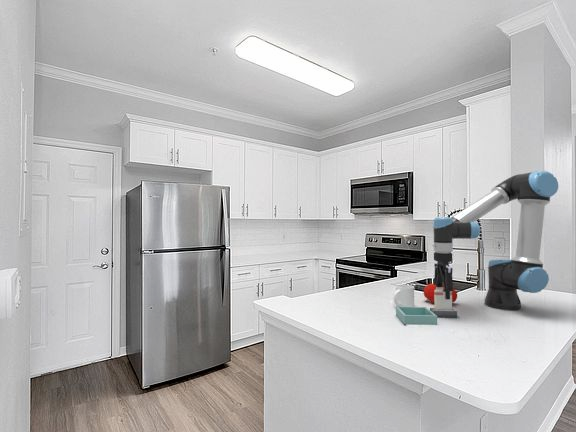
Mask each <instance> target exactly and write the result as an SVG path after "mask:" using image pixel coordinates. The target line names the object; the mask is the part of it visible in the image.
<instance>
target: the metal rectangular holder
mask: <svg viewBox="0 0 576 432" xmlns="http://www.w3.org/2000/svg"><path fill="white" fill-rule="evenodd" d="M429 310H430V311H431V312H433V313H434V314H435V315H436V316H437V319H461V316H459V315H458V311H457V309H454V308H452V310H435V309H434V307H430V308H429Z"/></svg>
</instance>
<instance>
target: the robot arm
mask: <svg viewBox="0 0 576 432" xmlns="http://www.w3.org/2000/svg"><path fill="white" fill-rule="evenodd" d="M558 189H559V181H558V179H557V177H555V176H554V174H553V173H551V172H549V171H547V170H540V171H539V170H538V171H537V170H535V171H531V172H526V173H519V174H514V175H513V176H510V177H508V178H507V179H504V180H503V181H501V182H500V183H498V184H497V185H495V186H494V187H492V188H491V191H490V192H489V193H487V194H485V195H484V196H482V197H481V198H479V199H478V200H476V201H475V202H473V203H471V204H470V205H468V206H467V207H465V208H464V209H463V210H462V209H461V211H459V212H458V213H456V214H454V215H453V216H452V217H435V218H434V220H433V227H432V228H433V245H432V247H433V251H434V252H433V261H435V262H437V263H434V266H433V267H434V278H433V279H434V280H433V284H434V285H436V290H442V291H443V306H444V307H450V292H451V291H453V288H454V282H453V269H454V268H453V267H450V263H451V262H453V256H454V255H453V253H452V252H453V250H454V249H453V248H454V245H453V244H454V243H453V241H454V239H457V240H459V239H461V240H462V239H463V240H464V239H470V240H471V239H477V238H478V237H479V236H480V234H481V226H480V225H479V223H477V222H476V221H478V220H479V219H481V218H482V217H483V216H486V215H487V214H488V213H490V212H492V211H493V210H494V209H496V208H498V207H499V206H501V205H506V204H508V203H510V202H511V201H514V200H517V202H518V203H519V204H520V211H519V212H520V214H519V221H518V222H519V223H518V233H517V240H516V241H517V242H516V249H515V250H516V251H515V256H514V257H512V258H511V259H490V260H489V261H488V266H487V269H488V290H487V292H486V296H485V298H484V305H485V306H487V307H490V308H492V309H493V308H494V309H498V310H504V311H505V310H506V311H519V310H522V302H521V300H520V296H519V294H518V291H517V290H519V291H521V292H523V293H530V294H531V293H532V294H536V293H540V292H542V291H543V290H545V289H546V287H547V286H548V283H549V281H550V277H549V273H548V272H547V270H546V269H544V263H543V262H542V260H541V259H540V255H541V248H542V247H541V246H542V238H543V237H542V236H543V228H544V218H545V217H544V216H545V208H546V206H547V205H548V204H550V202H551V197H553V196H555V194H557V192H558ZM442 284H443V285H444V286H443V285H442ZM443 287H444V290H443Z"/></svg>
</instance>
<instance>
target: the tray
mask: <svg viewBox="0 0 576 432" xmlns="http://www.w3.org/2000/svg"><path fill="white" fill-rule="evenodd" d="M395 316H396V317H397V318H398V321H400V322H401V324H403V326H407V325H430V326H431V325H438V318H437V316H436V315H435V314H434V313H433V312H431V311H430V308H427V307H426V306H414V307H398V306H395Z"/></svg>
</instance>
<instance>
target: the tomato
mask: <svg viewBox="0 0 576 432" xmlns="http://www.w3.org/2000/svg"><path fill="white" fill-rule="evenodd" d="M442 285H443V284H442ZM443 286H444V285H443ZM434 290H436V285H435V284H434V283H428V284H427V285H426V286H425V287H424V288H423V295H424V298H426V299H427V301H428V302H430V303H432V304H434ZM443 290H444V287H443ZM457 299H458V293H457V292H456V289H455V288H454V287H453V291H452V304H454V303H455V302H456V301H457Z"/></svg>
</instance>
